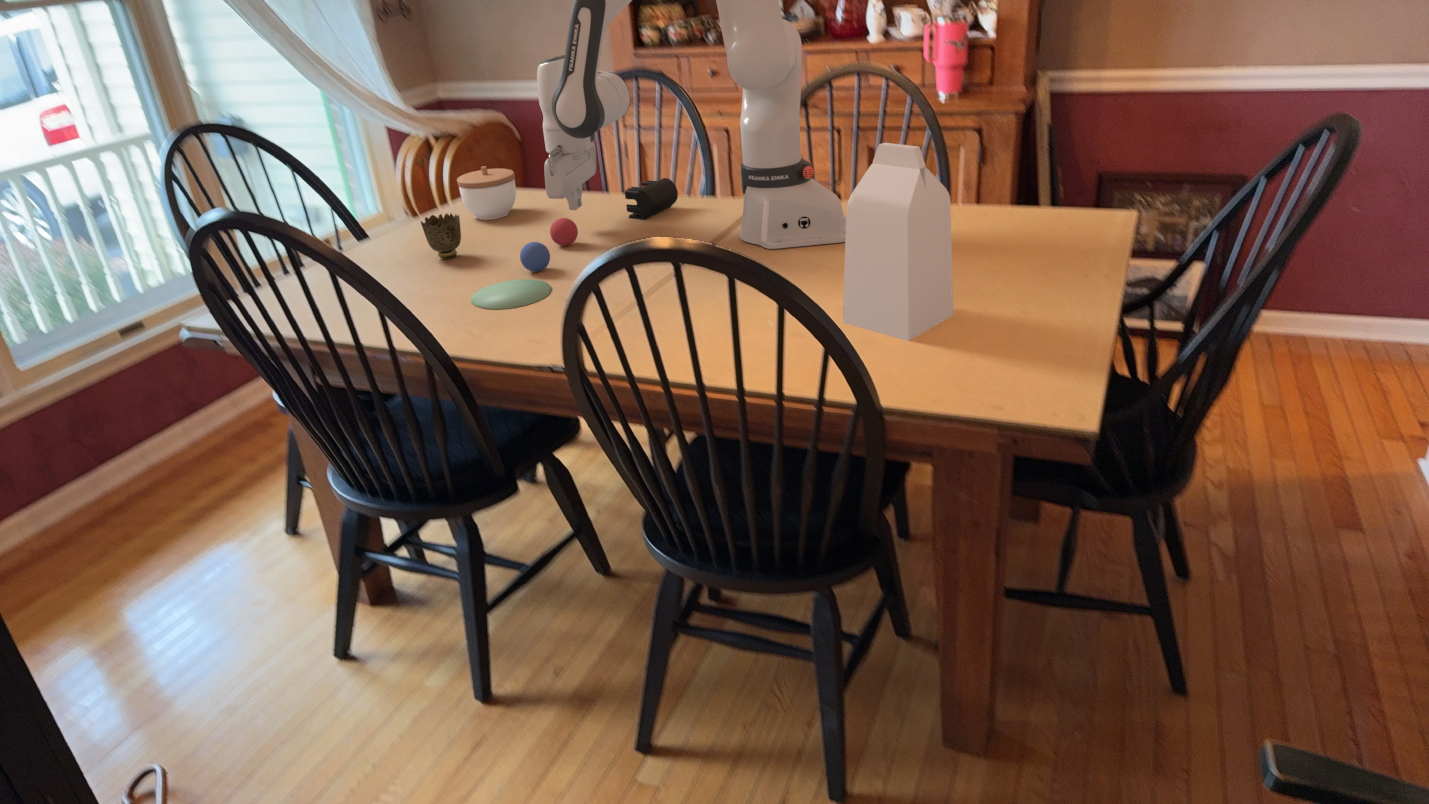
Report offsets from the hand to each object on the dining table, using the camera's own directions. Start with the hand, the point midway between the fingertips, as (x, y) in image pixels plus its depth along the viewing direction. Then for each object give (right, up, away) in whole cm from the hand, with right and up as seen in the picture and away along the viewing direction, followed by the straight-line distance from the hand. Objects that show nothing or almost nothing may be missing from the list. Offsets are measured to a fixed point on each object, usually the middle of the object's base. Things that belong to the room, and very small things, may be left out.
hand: (575, 208), depth 197 cm
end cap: (+16, 0, +9) cm, 18 cm away
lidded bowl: (-21, +2, +19) cm, 29 cm away
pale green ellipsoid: (-7, -21, -29) cm, 37 cm away
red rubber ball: (-1, -6, -7) cm, 10 cm away
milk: (+56, -28, -53) cm, 82 cm away
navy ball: (-5, -13, -20) cm, 24 cm away
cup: (-24, -11, -7) cm, 28 cm away
